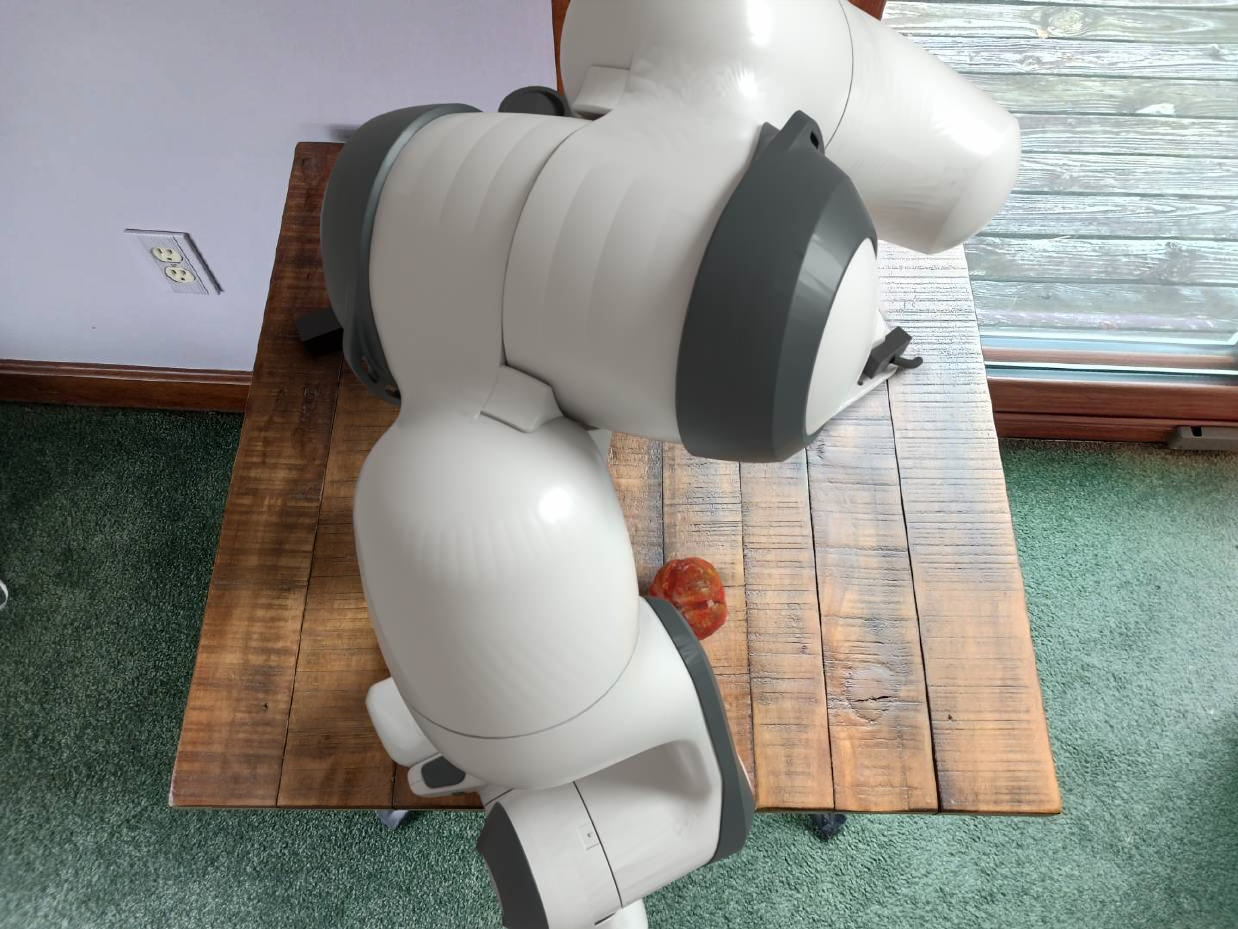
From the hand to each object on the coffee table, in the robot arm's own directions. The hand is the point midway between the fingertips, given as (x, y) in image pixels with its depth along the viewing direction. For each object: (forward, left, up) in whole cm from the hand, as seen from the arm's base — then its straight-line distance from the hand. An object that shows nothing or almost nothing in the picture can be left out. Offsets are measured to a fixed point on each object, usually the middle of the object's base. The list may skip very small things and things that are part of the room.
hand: (462, 591), depth 69 cm
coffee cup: (-24, -40, -7) cm, 47 cm away
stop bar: (0, -34, -6) cm, 34 cm away
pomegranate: (-18, +8, -7) cm, 21 cm away
